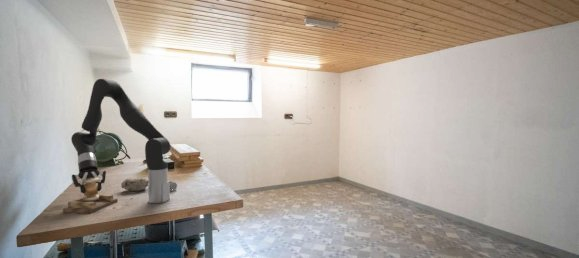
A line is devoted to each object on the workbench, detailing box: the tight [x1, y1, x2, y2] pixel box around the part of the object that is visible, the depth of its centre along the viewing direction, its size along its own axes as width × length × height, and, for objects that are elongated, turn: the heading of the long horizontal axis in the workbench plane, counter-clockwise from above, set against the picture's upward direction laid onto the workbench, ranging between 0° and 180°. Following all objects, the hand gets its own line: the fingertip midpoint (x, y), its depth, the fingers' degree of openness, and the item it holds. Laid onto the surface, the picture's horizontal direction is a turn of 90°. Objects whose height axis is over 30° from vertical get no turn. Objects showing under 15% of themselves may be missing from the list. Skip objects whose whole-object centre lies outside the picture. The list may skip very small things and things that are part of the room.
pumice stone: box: [120, 178, 148, 192], centre depth 153 cm, size 14×12×8 cm
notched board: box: [62, 194, 119, 214], centre depth 125 cm, size 14×16×4 cm
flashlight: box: [168, 180, 178, 192], centre depth 156 cm, size 15×5×5 cm, turn 59°
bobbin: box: [82, 178, 100, 201], centre depth 125 cm, size 6×6×10 cm
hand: (91, 191), depth 124 cm, fingers closed on bobbin, 5 cm apart
